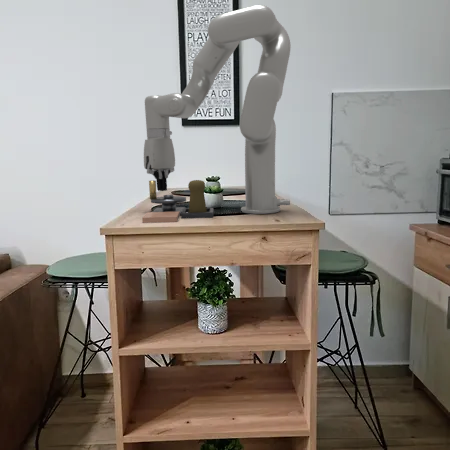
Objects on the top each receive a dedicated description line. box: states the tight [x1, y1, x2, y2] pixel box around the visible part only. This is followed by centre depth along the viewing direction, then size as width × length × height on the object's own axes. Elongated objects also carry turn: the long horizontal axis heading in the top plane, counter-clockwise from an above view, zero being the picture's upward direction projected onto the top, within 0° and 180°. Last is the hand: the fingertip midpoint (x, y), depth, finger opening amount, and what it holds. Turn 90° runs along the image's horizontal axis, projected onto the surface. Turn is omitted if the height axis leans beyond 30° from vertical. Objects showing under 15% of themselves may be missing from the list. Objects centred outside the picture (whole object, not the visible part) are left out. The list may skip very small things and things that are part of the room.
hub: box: [152, 203, 186, 212], centre depth 153 cm, size 10×10×3 cm
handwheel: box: [148, 179, 187, 205], centre depth 152 cm, size 12×12×7 cm
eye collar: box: [180, 207, 214, 219], centre depth 144 cm, size 10×10×2 cm
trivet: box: [142, 211, 181, 224], centre depth 138 cm, size 10×10×2 cm
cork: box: [187, 179, 207, 213], centre depth 143 cm, size 6×6×11 cm
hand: (162, 190), depth 154 cm, fingers closed
